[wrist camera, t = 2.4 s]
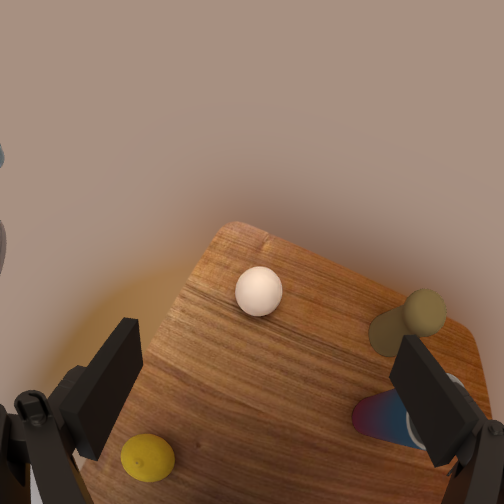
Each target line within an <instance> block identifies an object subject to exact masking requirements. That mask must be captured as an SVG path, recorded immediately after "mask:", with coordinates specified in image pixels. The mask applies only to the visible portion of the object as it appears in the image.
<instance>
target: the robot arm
mask: <svg viewBox="0 0 504 504" xmlns="http://www.w3.org/2000/svg"><path fill="white" fill-rule="evenodd" d="M3 163H4V153H3V150H2V148H1V145H0V168H1V166H2V165H3ZM141 351H142V350H141V342H140V333H139V323H138V319H131V318H125V317H124V318H123V319H122V320H121V322H120V323H119V324H118V326H117V327H116V328H115V330H114V331H113V332H112V333H111V335H110V336H109V337H108V339H107V340H106V341H105V343H104V344H103V346H102V347H101V348H100V350H99V351H98V352H97V354H96V355H95V356H94V358H93V359H92V361H91V362H90V363H89V365H88V366H87V367H83V366H79V365H77V366H76V367H74V368H73V369H71V370H69V371H68V372H67V374H66V375H65V376H64V378H63V380H61V382H60V383H59V384H58V386H57V387H56V388H55V390H54V391H53V392H52V394H51V395H50V396H49V398H48V399H46V397H45V395H44V394H43V393H41V392H39V391H36V390H28V391H25V392H22V393H21V394H20V395H18V397H17V398H16V399H15V402H14V407H15V408H16V411H17V413H18V415H16V414H8V413H7V412H6V410H5V408H4V406H3V405H1V404H0V504H31V490H30V464H31V465H32V469H33V473H34V477H35V480H36V484H37V487H38V490H39V493H40V496H41V499H42V502H43V504H94V502H93V500H92V498H91V496H90V494H89V492H88V490H87V488H86V485H85V483H84V481H83V479H82V476H81V474H80V472H79V469H78V467H77V465H76V462H75V459H74V457H73V455H72V454H73V452H74V450H75V448H76V449H77V451H78V453H79V455H80V456H82V457H85V458H88V459H91V460H94V461H98V459H99V457H100V455H101V452H102V450H103V448H104V446H105V444H106V441H107V439H108V437H109V435H110V433H111V431H112V428H113V426H114V424H115V422H116V420H117V418H118V416H119V414H120V412H121V409H122V407H123V405H124V403H125V401H126V399H127V397H128V395H129V393H130V391H131V389H132V387H133V385H134V383H135V381H136V379H137V377H138V375H139V373H140V371H141V369H142V367H143V358H142V352H141ZM389 378H390V380H391V382H392V384H393V386H394V387H395V389H396V391H397V393H398V395H399V397H400V399H401V401H402V403H403V405H404V406H405V408H406V410H407V412H408V414H409V416H410V418H411V420H412V422H413V424H414V426H415V428H416V430H417V432H418V434H419V436H420V438H421V440H422V442H423V444H424V446H425V448H426V450H427V452H428V454H429V456H430V459H431V461H432V463H433V465H434V467H439V466H443V465H446V464H449V463H450V461H451V460H452V459H453V457H454V456H455V455H456V456H457V458H458V461H457V462H456V464H455V465H454V466H453V468H452V469H451V470H450V471H449V473H448V474H447V476H449V475H450V474H451V473H452V475H451V478H450V481H449V484H448V487H447V489H446V492H445V495H444V497H443V500H442V503H441V504H504V425H503V424H502V423H501V422H499V421H497V420H488V419H487V418H486V416H485V415H484V413H483V412H482V411H481V409H480V408H479V407H478V405H477V404H476V402H475V401H474V400H473V398H472V397H471V396H469V395H470V394H469V393H468V392H467V390H466V389H465V388H464V387H463V386H462V385H460V384H459V383H457V382H452V380H451V379H450V378H449V376H448V375H447V374H446V372H445V371H444V370H443V368H442V367H441V366H440V364H439V363H438V362H437V361H436V359H435V358H434V357H433V355H432V354H431V353H430V352H429V350H428V349H427V348H426V347H425V345H424V344H423V343H422V342H421V340H420V339H419V338H418V337H417V335H416V334H415V335H403V338H402V341H401V345H400V348H399V351H398V353H397V356H396V359H395V362H394V365H393V368H392V370H391V373H390V376H389Z"/></svg>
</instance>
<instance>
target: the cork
mask: <svg viewBox="0 0 504 504" xmlns="http://www.w3.org/2000/svg"><path fill="white" fill-rule="evenodd" d="M446 313H447V312H446V305H445V303H444V300H443V299H442V298H441V296H440V295H439V294H438V293H436V292H435V291H432V290H429V289H420V290H417V291H415V292H414V293H412V294H411V295H410V296H409V297H408V298H407V300H406V301H405V303H404V305H401V306H399V307H397V308H395V309H392V310H390V311H388V312H385V313H383V314H381V315H379V316H377V317H376V318H375V319H374V320H373V321H372V323H371V325H370V328H369V340H370V343H371V345H372V347H373V348H374V350H375V351H376V352H378V353H379V354H380V355H383V356H386V357H394V356H396V355H397V353H398V351H399V348H400V345H401V341H402V338H403V335H415V334H416V335H417V337H418V338H420V337H428V336H431V335H433V334H435V333H437V332H438V331H439V330H440V329H441V328H442V326H443V325H444V322H445V320H446Z"/></svg>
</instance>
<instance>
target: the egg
mask: <svg viewBox="0 0 504 504" xmlns="http://www.w3.org/2000/svg"><path fill="white" fill-rule="evenodd" d="M235 296H236V300H237V303H238V305H239V306H240V307H241V309H242V310H243V311H245V312H246V313H248V314H250V315H253V316H264V315H267V314H269V313H271V312H272V311H273V310H275V309H276V307H277V306H278V305H279V303H280V301H281V297H282V285H281V281H280V279H279V278H278V276H277V275H276V274H275V273H274V272H273V271H272V270H270V269H268V268H266V267H253V268H251V269H249V270H247V271H245V272H244V273H243V274H242V275H241V276H240V278H239V280H238V282H237V284H236V289H235Z"/></svg>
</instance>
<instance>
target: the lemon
mask: <svg viewBox="0 0 504 504" xmlns="http://www.w3.org/2000/svg"><path fill="white" fill-rule="evenodd" d="M121 462H122V465H123V467H124V469H125V470H126V471H127V473H128V474H129V475H131V476H132V477H133V478H135V479H137V480H140V481H144V482H156V481H160V480H162V479H164V478H165V477H167V476H168V475H169V474H170V473H171V471H172V469H173V467H174V463H175V457H174V452H173V450H172V448H171V447H170V445H169V444H168V443H167V442H166V441H165V440H164V439H162V438H161V437H159V436H156V435H153V434H139V435H136V436H134V437H132V438H130V439H129V440H128V441H127V442H126V443H125V444H124V446H123V448H122V451H121Z"/></svg>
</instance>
